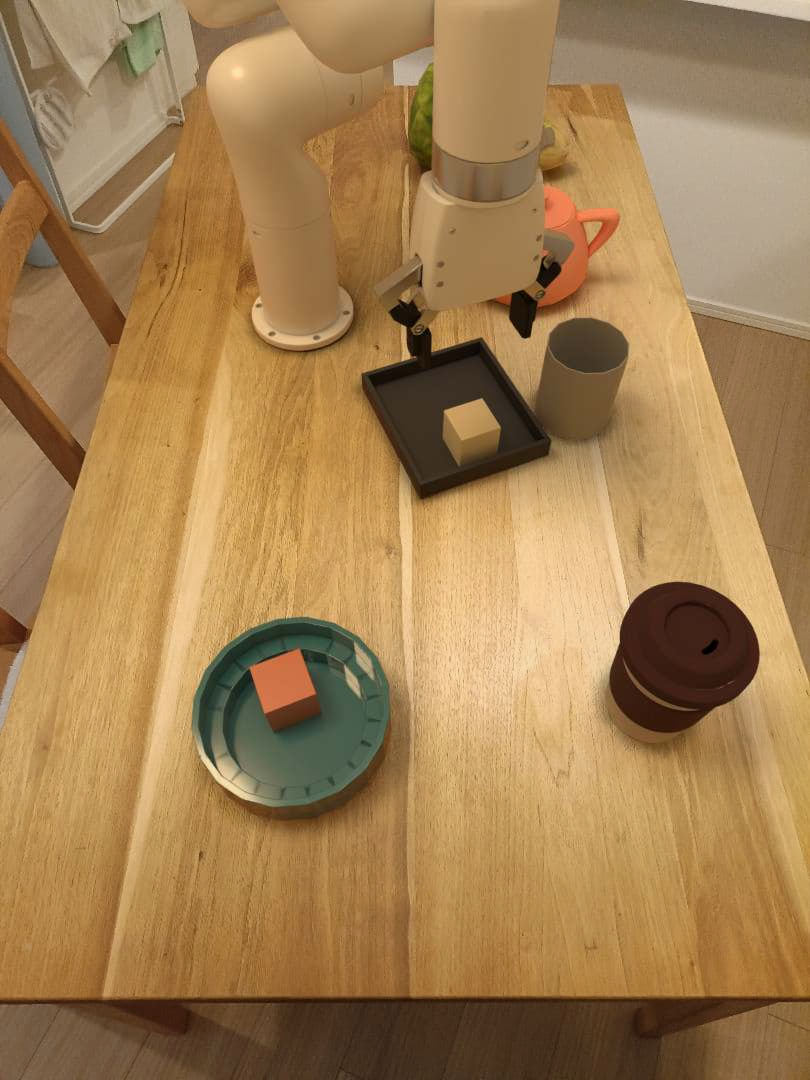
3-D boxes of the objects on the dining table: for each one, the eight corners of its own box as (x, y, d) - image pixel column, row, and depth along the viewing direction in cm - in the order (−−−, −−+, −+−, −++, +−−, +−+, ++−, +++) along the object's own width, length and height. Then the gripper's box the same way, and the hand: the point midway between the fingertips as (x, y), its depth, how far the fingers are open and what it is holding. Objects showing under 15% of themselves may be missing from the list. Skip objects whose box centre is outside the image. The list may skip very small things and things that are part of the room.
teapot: (430, 314, 96) (432, 227, 86) (436, 239, 104) (438, 151, 94) (608, 320, 95) (631, 233, 85) (599, 244, 103) (620, 156, 93)
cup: (606, 445, 84) (627, 379, 76) (531, 434, 85) (543, 368, 77) (610, 389, 89) (630, 322, 80) (539, 380, 90) (552, 312, 81)
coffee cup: (578, 657, 70) (614, 575, 58) (684, 648, 71) (743, 565, 58) (602, 764, 65) (648, 700, 53) (717, 754, 66) (789, 688, 53)
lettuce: (549, 224, 113) (584, 147, 101) (394, 182, 110) (410, 98, 98) (557, 157, 118) (590, 77, 106) (409, 116, 116) (427, 30, 104)
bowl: (186, 679, 70) (171, 656, 66) (353, 617, 73) (349, 592, 69) (234, 854, 62) (221, 840, 57) (420, 775, 65) (420, 757, 61)
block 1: (258, 687, 69) (248, 666, 65) (305, 669, 70) (299, 648, 66) (272, 732, 66) (264, 714, 63) (321, 712, 67) (316, 693, 64)
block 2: (442, 438, 84) (443, 410, 81) (479, 426, 85) (482, 397, 81) (459, 468, 82) (461, 440, 78) (497, 455, 83) (501, 427, 79)
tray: (362, 388, 89) (360, 373, 87) (480, 352, 92) (482, 336, 90) (420, 499, 80) (420, 485, 78) (548, 455, 83) (552, 440, 81)
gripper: (567, 108, 58) (538, 293, 72) (352, 158, 55) (365, 341, 69) (618, 160, 54) (576, 344, 68) (389, 217, 51) (395, 398, 65)
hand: (470, 343), depth 69 cm, fingers open, 9 cm apart
